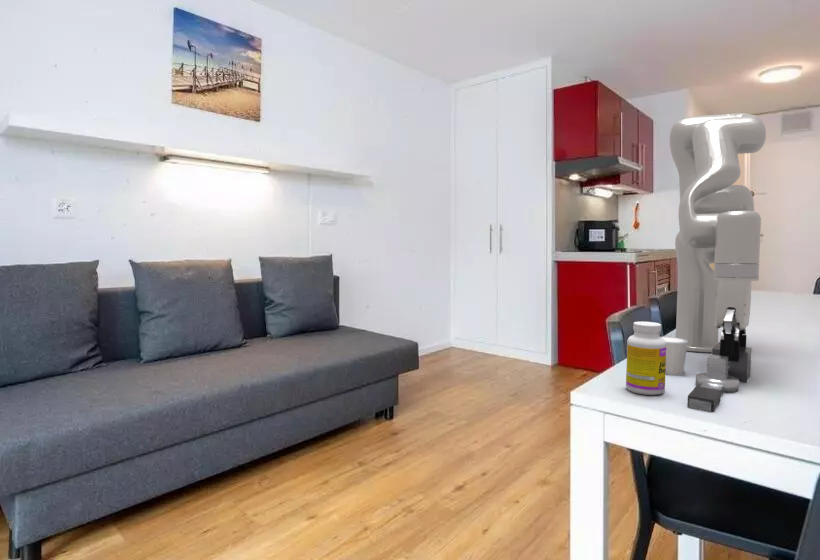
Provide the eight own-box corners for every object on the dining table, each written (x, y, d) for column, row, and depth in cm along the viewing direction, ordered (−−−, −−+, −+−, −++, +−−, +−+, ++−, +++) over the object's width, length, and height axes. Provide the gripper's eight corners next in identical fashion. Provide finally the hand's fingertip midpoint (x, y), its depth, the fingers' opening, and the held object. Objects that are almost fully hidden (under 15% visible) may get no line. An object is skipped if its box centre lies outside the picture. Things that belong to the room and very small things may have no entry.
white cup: (691, 376, 101) (692, 343, 100) (655, 374, 102) (657, 342, 101) (680, 367, 107) (681, 336, 107) (646, 366, 109) (647, 335, 108)
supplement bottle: (663, 398, 87) (665, 327, 86) (623, 392, 90) (625, 324, 89) (666, 388, 93) (668, 322, 91) (628, 383, 96) (630, 319, 95)
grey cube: (716, 371, 104) (717, 343, 104) (750, 376, 100) (751, 347, 100) (711, 377, 100) (712, 348, 99) (746, 382, 96) (747, 353, 95)
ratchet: (699, 380, 98) (700, 351, 97) (740, 386, 93) (742, 356, 93) (676, 405, 83) (677, 371, 83) (724, 415, 79) (725, 379, 78)
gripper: (721, 271, 107) (718, 348, 108) (706, 273, 94) (703, 361, 95) (763, 272, 102) (760, 352, 103) (753, 274, 89) (750, 366, 90)
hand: (733, 356), depth 99 cm, fingers open, 9 cm apart
